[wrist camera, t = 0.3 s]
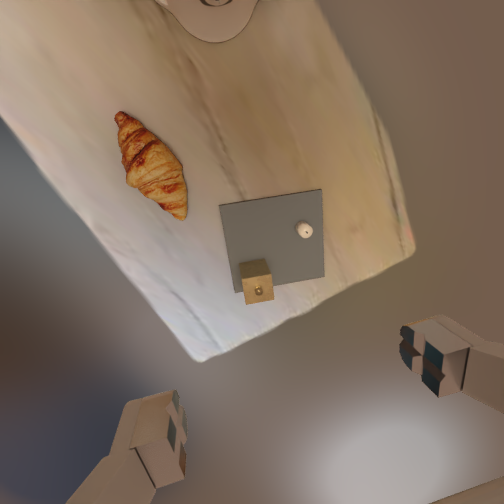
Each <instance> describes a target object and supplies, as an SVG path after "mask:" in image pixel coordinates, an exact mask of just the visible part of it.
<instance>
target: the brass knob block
mask: <svg viewBox="0 0 504 504" xmlns="http://www.w3.org/2000/svg"><path fill="white" fill-rule="evenodd" d="M239 268H240V274H241V280H242V286H243V291H244V296H245V302H246V305H247V304H253V303H258V302H263V301H269V300H274V292H273V284H272V275H271V272H270V270H269V268H268V265H267V263H266V261H265V259H260V260H254V261H248V262H242V263H239Z"/></svg>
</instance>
